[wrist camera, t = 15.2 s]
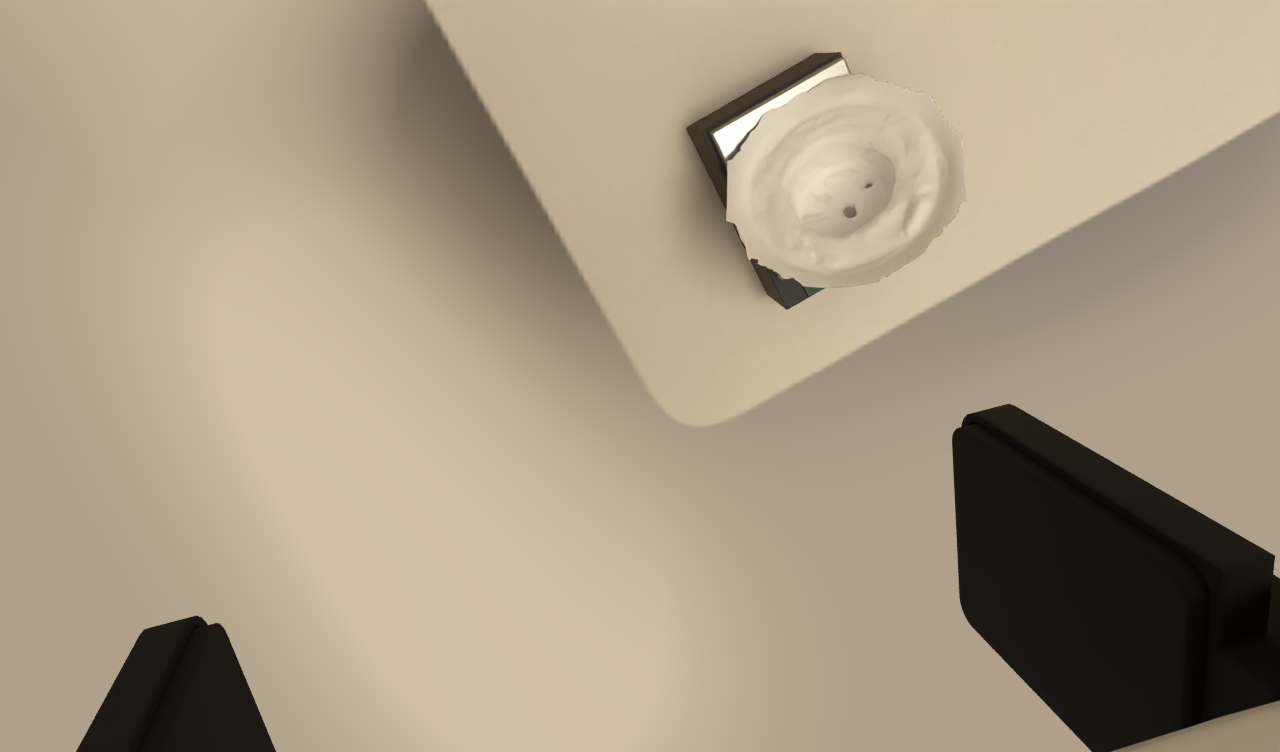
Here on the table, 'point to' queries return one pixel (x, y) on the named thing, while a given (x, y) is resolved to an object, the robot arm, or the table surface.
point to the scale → (777, 289)
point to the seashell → (846, 182)
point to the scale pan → (739, 127)
